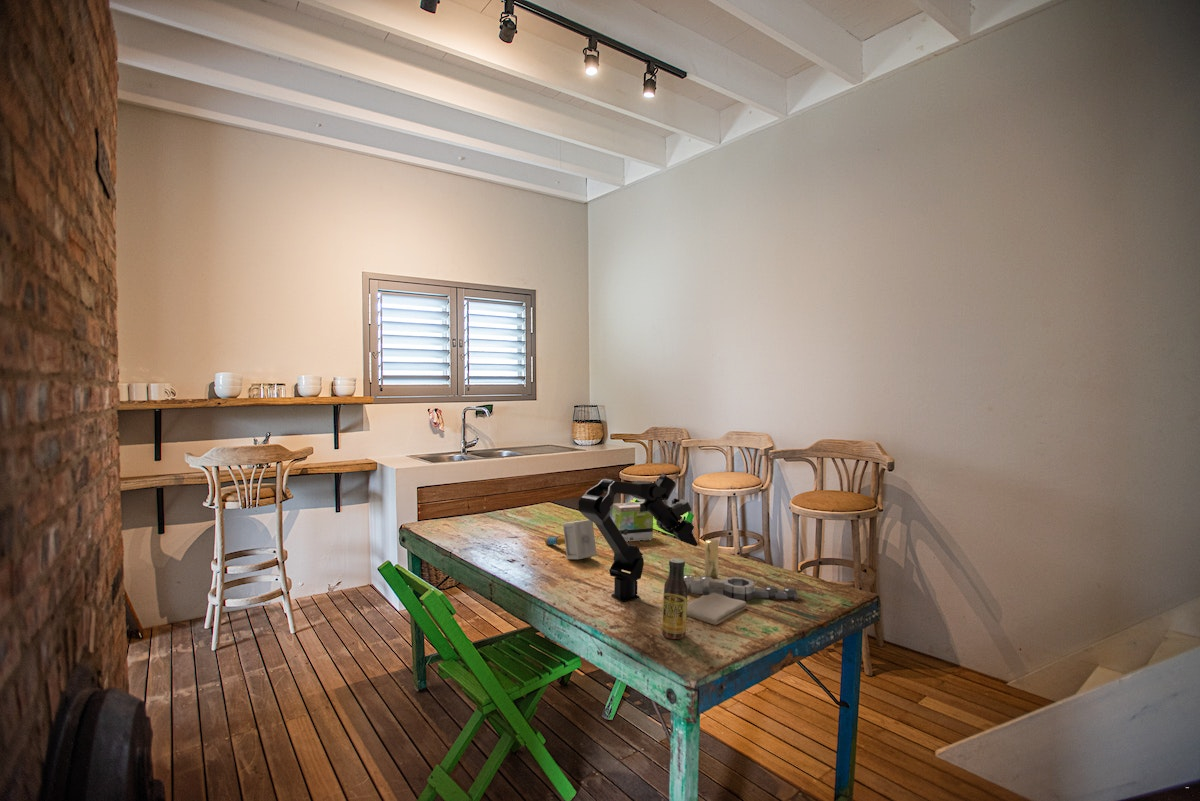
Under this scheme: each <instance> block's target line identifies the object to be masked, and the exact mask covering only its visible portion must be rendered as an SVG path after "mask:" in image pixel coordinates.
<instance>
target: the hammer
mask: <svg viewBox="0 0 1200 801" xmlns="http://www.w3.org/2000/svg"><path fill="white" fill-rule="evenodd" d="M562 526H563V527H562V528H563V536H560V535H558V536H556V537H555V536H549V537H546V538H545V540H544V543H545V545H549V546H553V545H559V546H560V545H563V544H564V546H565V551H566V553H565V554H566V559H567V560H582V559H588V558H593V557H597V554H598V553H597V546H596V538H595V531H594V522H592V521H591V520H589V519H584V520H575V521H569V522H563V523H562Z"/></svg>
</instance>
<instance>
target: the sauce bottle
mask: <svg viewBox="0 0 1200 801" xmlns="http://www.w3.org/2000/svg"><path fill="white" fill-rule="evenodd" d="M685 565H686V561H685V560H684V559H682V558H678V557H677V558H675V557H674V558H669V561H668V567H669V571H668V577H667V579H666V581H665V582H664V585H663V586H664V587H663V588H664V589H663V593H662V594H663V595H662V596H663V598H662V614H661V615H662V616H661V631H662V632H661V634H662V636H663V637H665V638H667V639H669V640H681V639H683V638H684V637H685V636H686V630H687V616H686V615H687V604H688V593H687V585H686V583H685V581H684V575H685V574H684V573H685V572H684V571H685V570H684V569H685Z"/></svg>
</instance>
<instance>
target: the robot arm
mask: <svg viewBox="0 0 1200 801" xmlns="http://www.w3.org/2000/svg"><path fill="white" fill-rule="evenodd" d="M676 486H677V483H676V482H675V480H673V478H670V477H669V476H667V474H663V473H662V474H660V475H659V477H658V479H657V481H656V482H650V481H645V480H637V481H636V480H634V481H632V482H625V481H619V480H615V479H609V478H603V479H601V480H600V481H599V482H598V483H597V484H595V485H594V486H592V487H590V488H589V489H587V490H586V491H585V493H584V494H583V495H582V496H581V497H580V499H579V500H578V504H577V505H578V506H577V508H578V511H579V512H580V513H581V515H583V516H584V517H585V518H586V520H591V521H592V522H593V524H594V525H595V526H596V528H597V529H598V530H599V532H600V534H601V535H602V536H603V538H604V540H605V541H606V542H607V544H608V546H609V547H610V548H611V550H612V551H613V563H612V565H611V566H610V568H609V570H608V571H609V574H610V575H609V576H610V577H614V579H613V580H614V592H613V593H611V597H613V598H614V599H616V600H618V601H620V602H622V603H625V602H629V601H632V600H637V598H638V599H640V597H641V596H640V595H638V580H641V578H642V574H643V570H644V565H645V562H644V561H645V560H644V558H643V555H644V554H643V553H642V552H641V550H640V548H639V547H638V546H637V545H635V544H629V543H628V542H626V541H625V539H624V538H623V536H622V534H621V533H620V531H619V530H618V528H617V527H616V525H615V523H614V522H613V520H612V517H611V516H610V515H611V506H613V504H614V499H615V495H616V494H621V495H628V496H629V495H630V496H631V497H633V498H635V499H638V500H639V499H640V500H644V501H643V502H644V503H641V504H640V512H645V511H649V512H650V513H651V514H652V515H653V520H656V523H655V524H656V526H657V527H658V528H659V529H661V530H662V531H663V532H666V533H667V534H668V533H669V534H670V535H673V536H674V537H675V538H677V539H678V541H681V542H683V543H686V544H689V545H691V546H693V547H697V546H698V545H699V543H698V541H697V540H696V538H695V536H694V534H693V531H694V529H695V525H694V524H693V523H692V522H691V521H688V520H687V519H685V520H682V518H683V517H682V516H683V515H685V514H687V513H689V512H691V511H692V507H691V505H690V502H689V501H688V500H686V499H684V498H683V499H682V498H680V499H678V498H677V497H674V498H672V499H671V504H670V506H669V505H668V504H666V503H665V501H666V500H668V499H669V498H670V497H671V494H672V493H673V491H674V490H675V488H676ZM604 493H606V495H605V496H602V495H603V494H604ZM681 520H682V521H681Z"/></svg>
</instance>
